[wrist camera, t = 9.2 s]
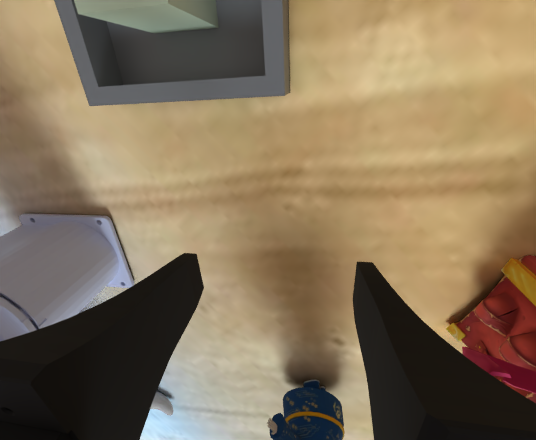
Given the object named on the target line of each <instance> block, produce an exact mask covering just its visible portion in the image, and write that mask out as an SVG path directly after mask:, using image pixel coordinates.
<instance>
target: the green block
mask: <svg viewBox="0 0 536 440" xmlns="http://www.w3.org/2000/svg"><path fill="white" fill-rule="evenodd" d="M74 2H75V5H76V8H77V12H78V14H81V15H84V16H88V17H92V18H96V19H100V20H104V21H108V22H112V23H116V24H120V25H124V26H128V27H132V28H136V29H139V30H143V31H147V32H151V33H166V32H177V31H188V30H198V29H209V28H219V26H218V17H217V8H216V0H74Z"/></svg>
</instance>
